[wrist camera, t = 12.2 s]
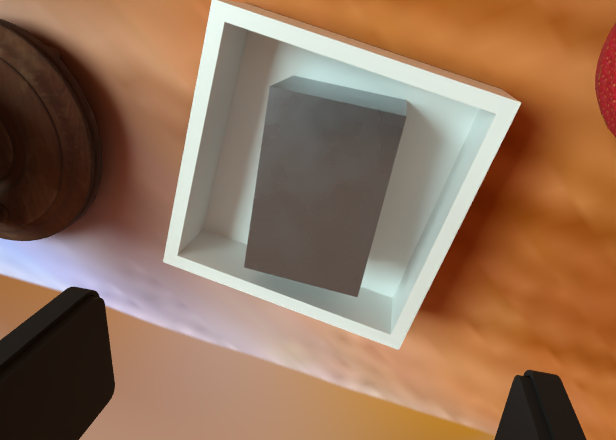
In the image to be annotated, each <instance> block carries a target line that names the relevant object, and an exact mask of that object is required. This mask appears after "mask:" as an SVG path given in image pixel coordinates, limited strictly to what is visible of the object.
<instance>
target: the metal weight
mask: <svg viewBox="0 0 616 440" xmlns="http://www.w3.org/2000/svg"><path fill="white" fill-rule="evenodd" d="M406 117H407V100H404V99H399V98H395V97H390V96H385V95H381V94H376V93H372V92H367V91H362V90H358V89H353V88H349V87H344V86H339V85H335V84H330V83H326V82H321V81H316V80H312V79H307V78H303V77H298V76H291V77H289V78H287V79H284V80H282V81H280V82H278V83H276V84H273V85H271V86H270V88H269V95H268V102H267V109H266V116H265V123H264V130H263V137H262V144H261V151H260V158H259V165H258V172H257V179H256V186H255V193H254V200H253V207H252V214H251V221H250V228H249V235H248V242H247V249H246V256H245V263H244V268H248V269H252V270H255V271H259V272H263V273H267V274H271V275H274V276H278V277H282V278H286V279H290V280H293V281H297V282H301V283H305V284H308V285H312V286H316V287H320V288H324V289H327V290H331V291H335V292H339V293H343V294H346V295H350V296H354V297H358V294H359V290H360V287H361V283H362V279H363V276H364V272H365V268H366V264H367V261H368V257H369V253H370V250H371V246H372V242H373V239H374V235H375V231H376V228H377V224H378V220H379V217H380V213H381V209H382V205H383V202H384V198H385V194H386V191H387V187H388V183H389V180H390V176H391V172H392V169H393V165H394V161H395V158H396V154H397V150H398V146H399V143H400V139H401V135H402V132H403V128H404V124H405V121H406Z"/></svg>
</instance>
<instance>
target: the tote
mask: <svg viewBox="0 0 616 440" xmlns="http://www.w3.org/2000/svg"><path fill="white" fill-rule="evenodd" d="M291 76H298V77H303V78H307V79H312V80H316V81H321V82H326V83H330V84H335V85H339V86H344V87H349V88H353V89H358V90H362V91H367V92H372V93H376V94H381V95H385V96H390V97H395V98H399V99H404V100H407V117H406V121H405V124H404V128H403V132H402V135H401V139H400V143H399V146H398V150H397V154H396V158H395V161H394V165H393V169H392V172H391V176H390V180H389V183H388V187H387V191H386V194H385V198H384V202H383V205H382V209H381V213H380V217H379V220H378V224H377V228H376V231H375V235H374V239H373V242H372V246H371V250H370V253H369V257H368V261H367V264H366V268H365V272H364V276H363V279H362V283H361V287H360V290H359V294H358V297H354V296H350V295H346V294H343V293H339V292H335V291H331V290H327V289H324V288H320V287H316V286H312V285H308V284H305V283H301V282H297V281H293V280H290V279H286V278H282V277H278V276H274V275H271V274H267V273H263V272H259V271H255V270H252V269H248V268H244V263H245V256H246V249H247V242H248V235H249V228H250V221H251V214H252V207H253V200H254V193H255V186H256V179H257V172H258V165H259V158H260V151H261V144H262V137H263V130H264V123H265V116H266V109H267V102H268V95H269V88H270V86H271V85H273V84H276V83H278V82H280V81H282V80H284V79H287V78H289V77H291ZM520 105H521V102H520V101H518V100H517V99H515V98H514V97H512V96H511V95H509V94H508V93H506V92H505V91H503V90H502V89H500V88H497V87H494V86H491V85H488V84H485V83H482V82H479V81H476V80H473V79H470V78H467V77H464V76H461V75H458V74H455V73H452V72H449V71H446V70H443V69H440V68H437V67H434V66H432V65H429V64H426V63H423V62H420V61H417V60H414V59H411V58H408V57H405V56H402V55H399V54H396V53H393V52H390V51H387V50H384V49H381V48H378V47H375V46H372V45H369V44H366V43H363V42H360V41H357V40H354V39H351V38H348V37H345V36H342V35H339V34H336V33H333V32H330V31H327V30H324V29H322V28H319V27H316V26H313V25H310V24H307V23H304V22H301V21H298V20H295V19H292V18H289V17H286V16H283V15H280V14H277V13H274V12H271V11H268V10H265V9H262V8H259V7H256V6H253V5H250V4H247V3H242V2H235V1H227V0H212V2H211V8H210V13H209V19H208V24H207V29H206V35H205V40H204V45H203V51H202V56H201V61H200V67H199V72H198V77H197V83H196V88H195V93H194V99H193V104H192V109H191V115H190V120H189V125H188V131H187V136H186V141H185V147H184V152H183V157H182V163H181V168H180V174H179V179H178V184H177V190H176V195H175V200H174V206H173V211H172V216H171V222H170V227H169V232H168V238H167V243H166V248H165V254H164V259H163V262H164V263H167V264H170V265H172V266H175V267H178V268H180V269H183V270H186V271H188V272H191V273H194V274H196V275H199V276H202V277H204V278H207V279H210V280H212V281H215V282H218V283H221V284H223V285H226V286H229V287H231V288H234V289H237V290H239V291H242V292H245V293H247V294H250V295H253V296H255V297H258V298H261V299H263V300H266V301H269V302H271V303H274V304H277V305H279V306H282V307H285V308H288V309H290V310H293V311H296V312H298V313H301V314H304V315H306V316H309V317H312V318H314V319H317V320H320V321H322V322H325V323H328V324H330V325H333V326H336V327H338V328H341V329H344V330H346V331H349V332H352V333H355V334H357V335H360V336H363V337H365V338H368V339H371V340H373V341H376V342H379V343H381V344H384V345H387V346H389V347H392V348H395V349H397V350H399V348H400V346H401V344H402V342H403V340H404V338H405V336H406V334H407V332H408V330H409V328H410V326H411V324H412V322H413V320H414V318H415V316H416V314H417V312H418V310H419V308H420V306H421V304H422V302H423V300H424V298H425V296H426V294H427V292H428V290H429V288H430V286H431V284H432V282H433V280H434V278H435V276H436V274H437V272H438V270H439V268H440V266H441V264H442V262H443V260H444V258H445V256H446V254H447V252H448V250H449V248H450V246H451V244H452V242H453V240H454V238H455V236H456V234H457V232H458V230H459V228H460V226H461V224H462V222H463V220H464V218H465V216H466V213H467V211H468V209H469V207H470V205H471V203H472V201H473V199H474V197H475V195H476V193H477V191H478V189H479V187H480V185H481V183H482V181H483V179H484V177H485V175H486V173H487V171H488V169H489V167H490V165H491V163H492V161H493V159H494V157H495V155H496V153H497V151H498V149H499V147H500V145H501V143H502V141H503V139H504V137H505V135H506V133H507V131H508V129H509V127H510V125H511V123H512V121H513V119H514V117H515V115H516V113H517V111H518V109H519V107H520Z"/></svg>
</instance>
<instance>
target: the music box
mask: <svg viewBox="0 0 616 440" xmlns="http://www.w3.org/2000/svg"><path fill="white" fill-rule="evenodd" d="M59 58H60V52H59V51H58V50H56V49H55V48H53V47H50V46H46V45H44V44H43V43H42V42H41V41H39V40H38V39H37V38H35V37H34V36H32V35H31V34H30V33H28V32H27V31H25V30H23V29H21V28H20V27H18V26H16V25H14V24H12V23H9V22H7V21H5V20H2V19H0V238H3V239H8V240H15V241H32V240H39V239H43V238H47V237H49V236H52V235H54V234H56V233H58V232H60V231H62V230H63V229H65V228H67V227H68V226H70V225H72V224H73V223H74V222H76V221H77V220H78V219H79V218H80V217H81V216H82V215H83V214H84V213H85V212H86V210H87V209H88V208H89V206H90V205H91V203H92V202H93V201H94V199H95V197H96V193H97V189H98V186H99V183H100V177H101V170H102V150H101V141H100V136H99V131H98V127H97V124H96V120H95V118H94V115H93V112H92V109H91V107H90V105H89V103H88V101H87V98H86V96H85V95H84V93H83V91H82V89H81V87H80V86H79V84H78V83H77V81H76V80H75V78H74V77H73V75H72V74H71V73H70V71H69V70H68V69H67V67H66V66H65V65H64V64H63V63H62V61H61V60H60V59H59Z"/></svg>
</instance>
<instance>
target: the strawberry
mask: <svg viewBox="0 0 616 440" xmlns="http://www.w3.org/2000/svg"><path fill="white" fill-rule="evenodd" d="M595 90H596V95H597V100H598V104H599V107H600V111H601V115H602V117H603V119H604V121H605V123H606V125H607V127H608V129H609V130H610V131H611V132H612V133H613V134H614V136H615V137H616V24H615V25H614V27H613V28H612V30H611V31H610V33H609V35H608V37H607V39H606V41H605V43H604V45H603V48H602V51H601V54H600V57H599V60H598V64H597V70H596V76H595Z"/></svg>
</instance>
